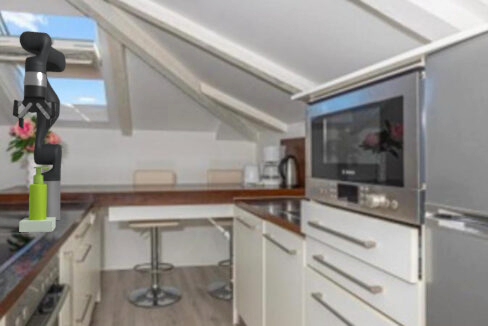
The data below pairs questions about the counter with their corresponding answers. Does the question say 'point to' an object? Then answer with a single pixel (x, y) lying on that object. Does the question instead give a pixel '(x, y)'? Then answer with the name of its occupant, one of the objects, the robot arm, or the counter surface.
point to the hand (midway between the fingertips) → (34, 129)
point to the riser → (37, 225)
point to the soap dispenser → (38, 196)
